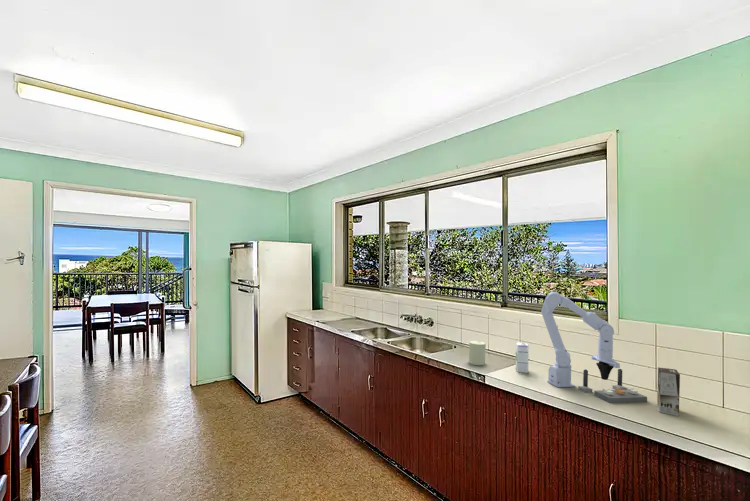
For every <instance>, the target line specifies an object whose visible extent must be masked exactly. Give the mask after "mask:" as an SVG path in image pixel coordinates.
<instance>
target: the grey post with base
mask: <svg viewBox="0 0 750 501" xmlns="http://www.w3.org/2000/svg"><path fill="white" fill-rule="evenodd" d="M615 388H621V389H622V390H627V388H628V387H626V386H623V369H621V368H617V384H613V385H612V390H615Z"/></svg>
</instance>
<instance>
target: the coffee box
mask: <svg viewBox="0 0 750 501" xmlns="http://www.w3.org/2000/svg"><path fill="white" fill-rule="evenodd" d="M680 386H681V374H680V373H679V371H678V370H677V369H674V368H667V367H657V396H656V397H657V400H656V402H657V404H656V405H657V409H658V412H659V413H661V414H667V415H672V416H675V417H680V393H681V392H680V390H681V389H680V388H681V387H680Z"/></svg>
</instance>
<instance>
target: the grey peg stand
mask: <svg viewBox="0 0 750 501" xmlns="http://www.w3.org/2000/svg"><path fill="white" fill-rule="evenodd" d="M582 375H583V376H582V377H583V378H582V381H583V382H582V385H579V386H577V387H578V388H577V389H578V390H579V391H580V392H583V393H593V388H591V387H589V384H588V383H589V371H588V370H587V369H584V370H583V374H582Z"/></svg>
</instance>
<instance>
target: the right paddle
mask: <svg viewBox="0 0 750 501" xmlns="http://www.w3.org/2000/svg"><path fill="white" fill-rule="evenodd" d="M626 388H627V392H629V393H632V394H638V393H639V391H638V390H636V389H634V387H626Z"/></svg>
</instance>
